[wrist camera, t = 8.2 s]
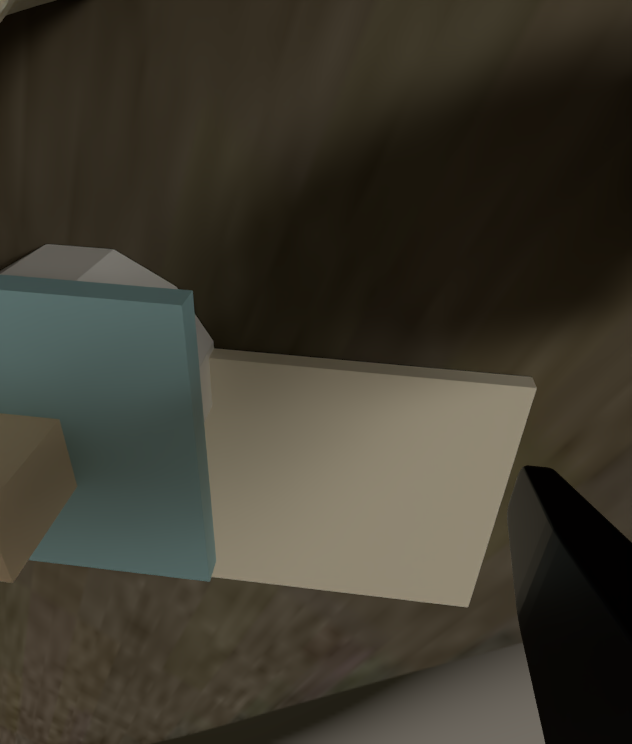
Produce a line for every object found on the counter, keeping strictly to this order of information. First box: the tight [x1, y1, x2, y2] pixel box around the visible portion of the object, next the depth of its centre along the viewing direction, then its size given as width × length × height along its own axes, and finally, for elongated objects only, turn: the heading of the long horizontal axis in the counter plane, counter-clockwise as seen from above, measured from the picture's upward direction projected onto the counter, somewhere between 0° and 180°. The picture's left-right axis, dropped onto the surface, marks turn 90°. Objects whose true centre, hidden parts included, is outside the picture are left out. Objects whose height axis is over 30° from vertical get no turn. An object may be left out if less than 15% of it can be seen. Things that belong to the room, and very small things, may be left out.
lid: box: [0, 275, 216, 583], centre depth 17 cm, size 12×12×5 cm
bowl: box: [0, 244, 214, 422], centre depth 22 cm, size 10×10×5 cm
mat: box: [204, 348, 537, 607], centre depth 26 cm, size 14×14×1 cm
